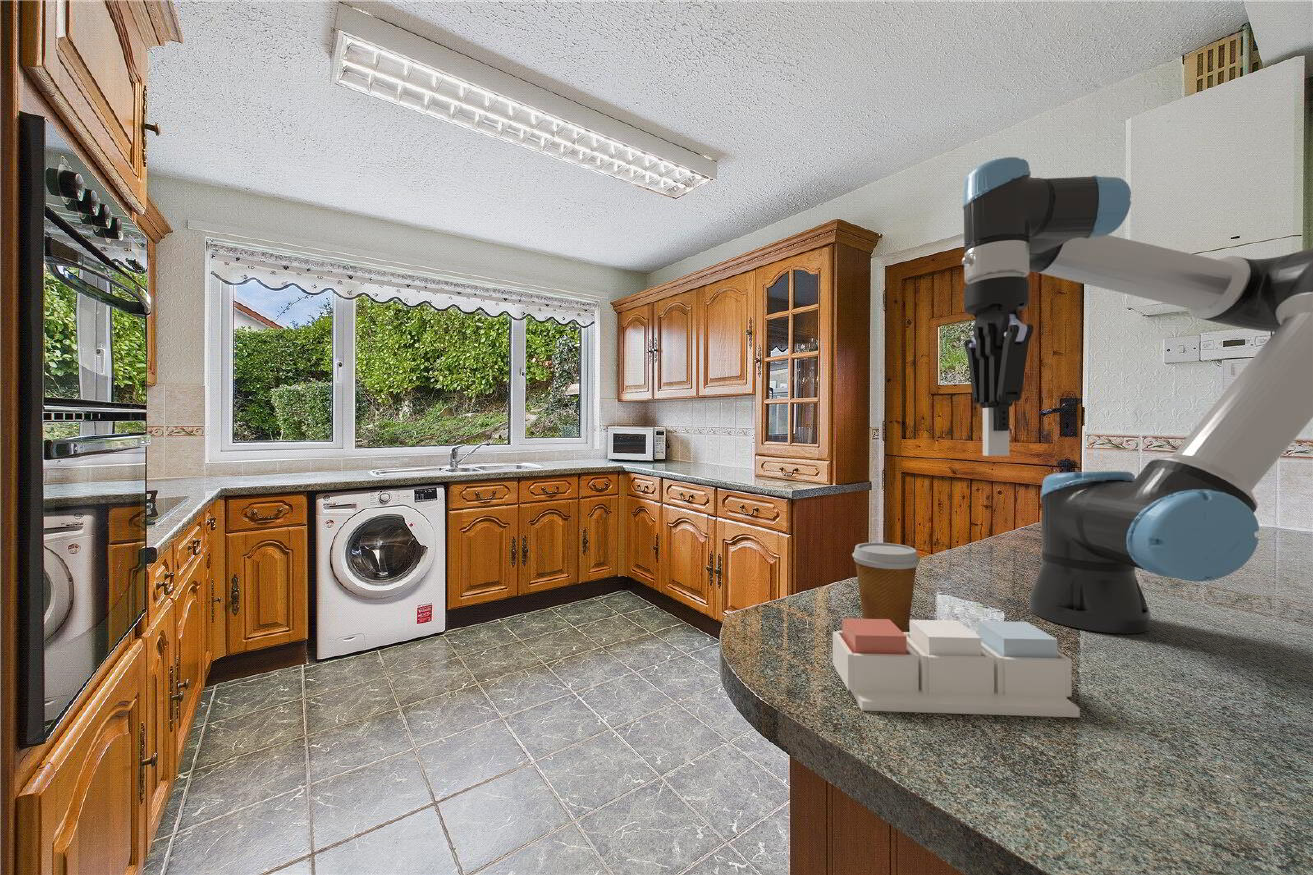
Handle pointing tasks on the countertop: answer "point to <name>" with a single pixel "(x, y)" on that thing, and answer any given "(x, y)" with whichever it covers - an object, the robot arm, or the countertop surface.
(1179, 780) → the countertop surface
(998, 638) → the pale blue key
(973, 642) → the white key
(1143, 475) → the robot arm
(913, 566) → the disposable coffee cup
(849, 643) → the brick-red key
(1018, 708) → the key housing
